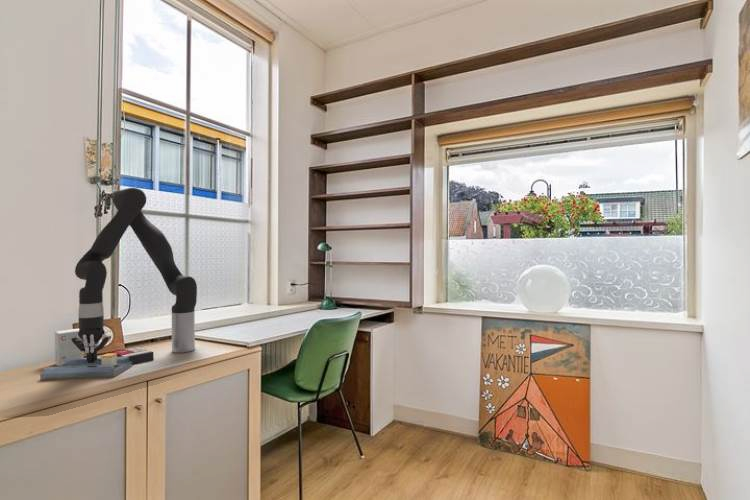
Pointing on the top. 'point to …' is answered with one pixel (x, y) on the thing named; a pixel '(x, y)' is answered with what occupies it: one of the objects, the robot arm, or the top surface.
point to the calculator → (136, 355)
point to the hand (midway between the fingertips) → (91, 362)
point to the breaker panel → (87, 375)
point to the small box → (66, 346)
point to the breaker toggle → (109, 359)
